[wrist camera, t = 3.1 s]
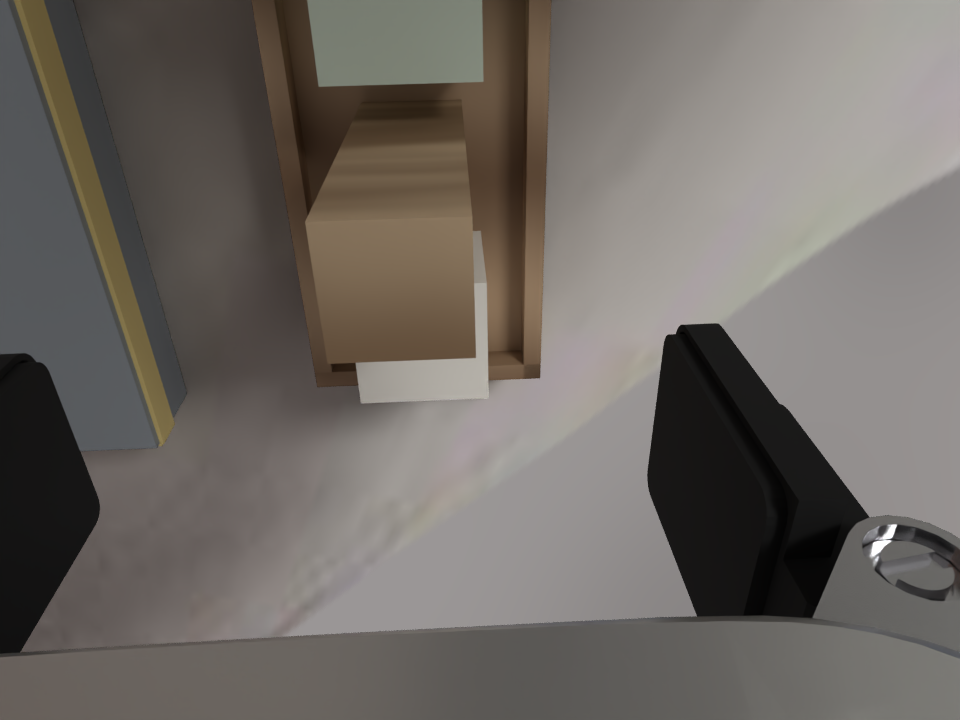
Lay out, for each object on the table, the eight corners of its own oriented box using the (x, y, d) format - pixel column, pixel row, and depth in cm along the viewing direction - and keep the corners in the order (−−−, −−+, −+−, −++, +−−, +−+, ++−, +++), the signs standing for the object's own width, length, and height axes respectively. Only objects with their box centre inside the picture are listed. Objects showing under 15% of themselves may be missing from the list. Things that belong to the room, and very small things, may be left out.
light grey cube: (480, 231, 23) (486, 282, 20) (482, 335, 26) (488, 398, 22) (360, 235, 23) (345, 287, 20) (372, 339, 25) (360, 403, 22)
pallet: (251, -158, 19) (35, -249, 9) (542, -164, 20) (648, -260, 9) (329, 344, 28) (261, 588, 18) (531, 337, 28) (581, 573, 18)
